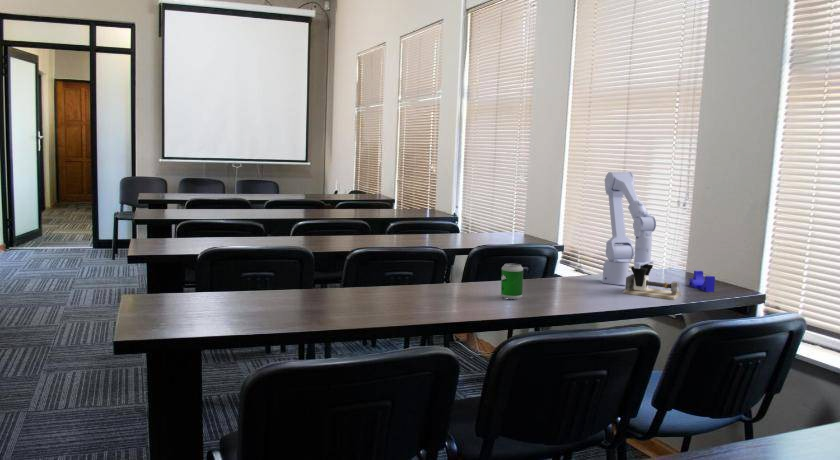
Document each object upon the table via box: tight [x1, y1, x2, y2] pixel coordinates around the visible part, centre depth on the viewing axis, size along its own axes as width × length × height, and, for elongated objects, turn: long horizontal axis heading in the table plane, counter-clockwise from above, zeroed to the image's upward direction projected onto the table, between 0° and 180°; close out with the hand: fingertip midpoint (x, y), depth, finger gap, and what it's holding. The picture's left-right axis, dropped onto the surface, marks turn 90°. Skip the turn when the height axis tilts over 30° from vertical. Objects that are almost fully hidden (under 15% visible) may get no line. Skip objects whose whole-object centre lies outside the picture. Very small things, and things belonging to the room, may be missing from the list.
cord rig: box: [623, 273, 681, 301], centre depth 240 cm, size 18×10×6 cm, turn 56°
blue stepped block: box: [688, 270, 716, 293], centre depth 251 cm, size 12×4×6 cm, turn 0°
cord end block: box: [634, 274, 650, 291], centre depth 242 cm, size 4×5×5 cm
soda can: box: [500, 263, 524, 300], centre depth 231 cm, size 8×8×12 cm
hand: (641, 284), depth 243 cm, fingers closed on cord end block, 5 cm apart
